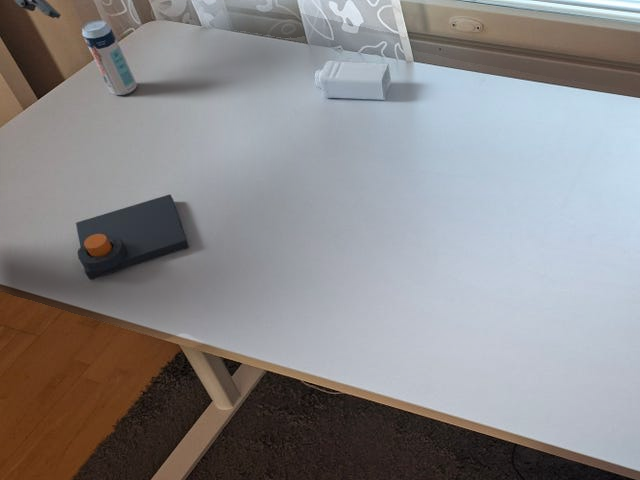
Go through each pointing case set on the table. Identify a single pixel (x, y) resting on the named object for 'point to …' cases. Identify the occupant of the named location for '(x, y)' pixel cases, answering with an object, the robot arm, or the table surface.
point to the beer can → (108, 57)
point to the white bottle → (354, 80)
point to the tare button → (98, 245)
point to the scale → (132, 235)
